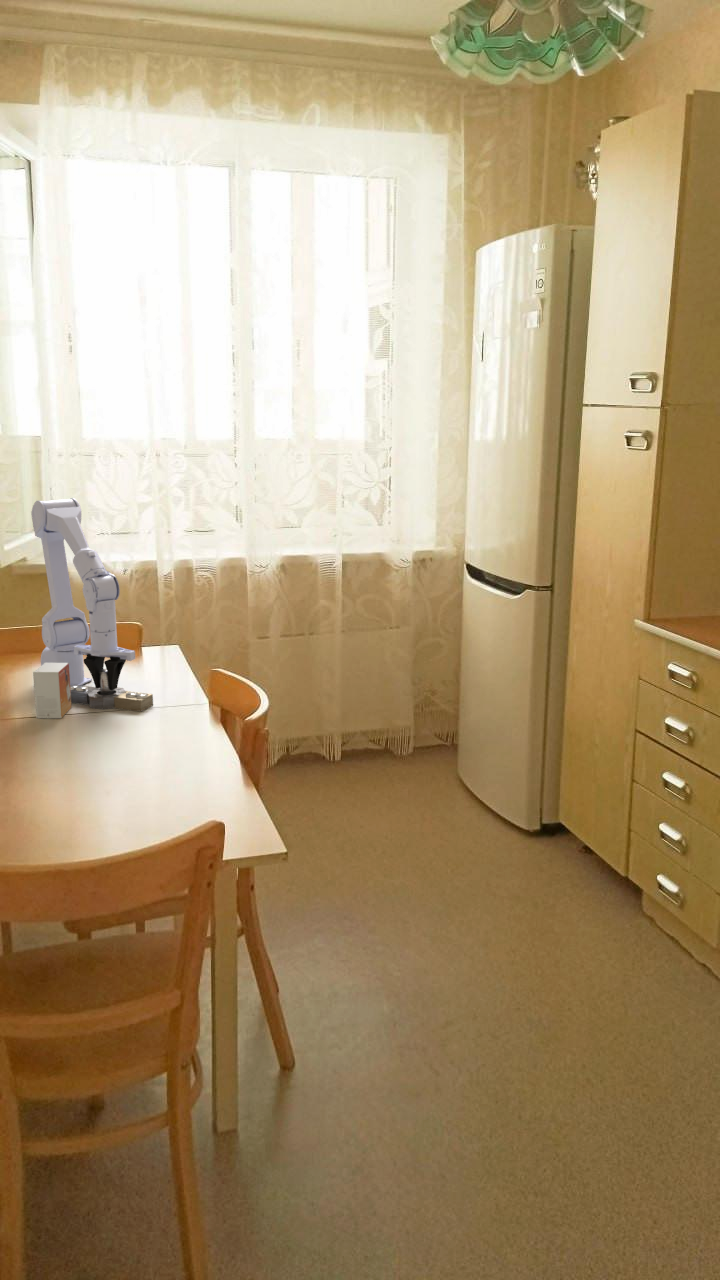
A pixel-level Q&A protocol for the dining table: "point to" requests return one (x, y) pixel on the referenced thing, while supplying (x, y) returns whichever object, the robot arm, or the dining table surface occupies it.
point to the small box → (52, 690)
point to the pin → (104, 683)
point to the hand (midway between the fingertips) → (106, 688)
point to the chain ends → (110, 698)
